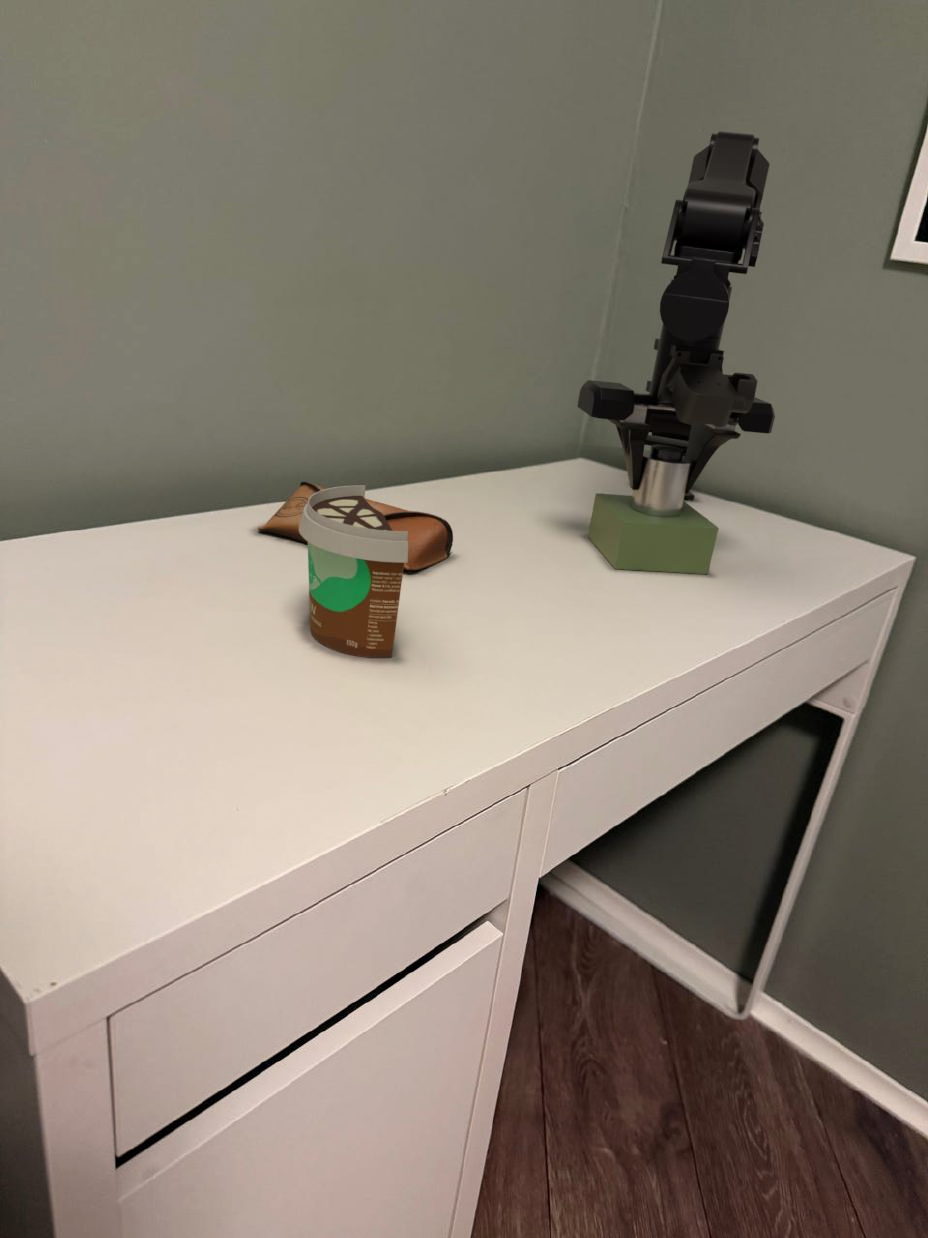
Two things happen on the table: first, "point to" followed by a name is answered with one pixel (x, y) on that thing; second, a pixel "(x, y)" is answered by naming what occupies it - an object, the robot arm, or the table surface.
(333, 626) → the food container
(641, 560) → the green block
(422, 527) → the sunglasses case
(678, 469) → the flask
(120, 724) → the table surface
